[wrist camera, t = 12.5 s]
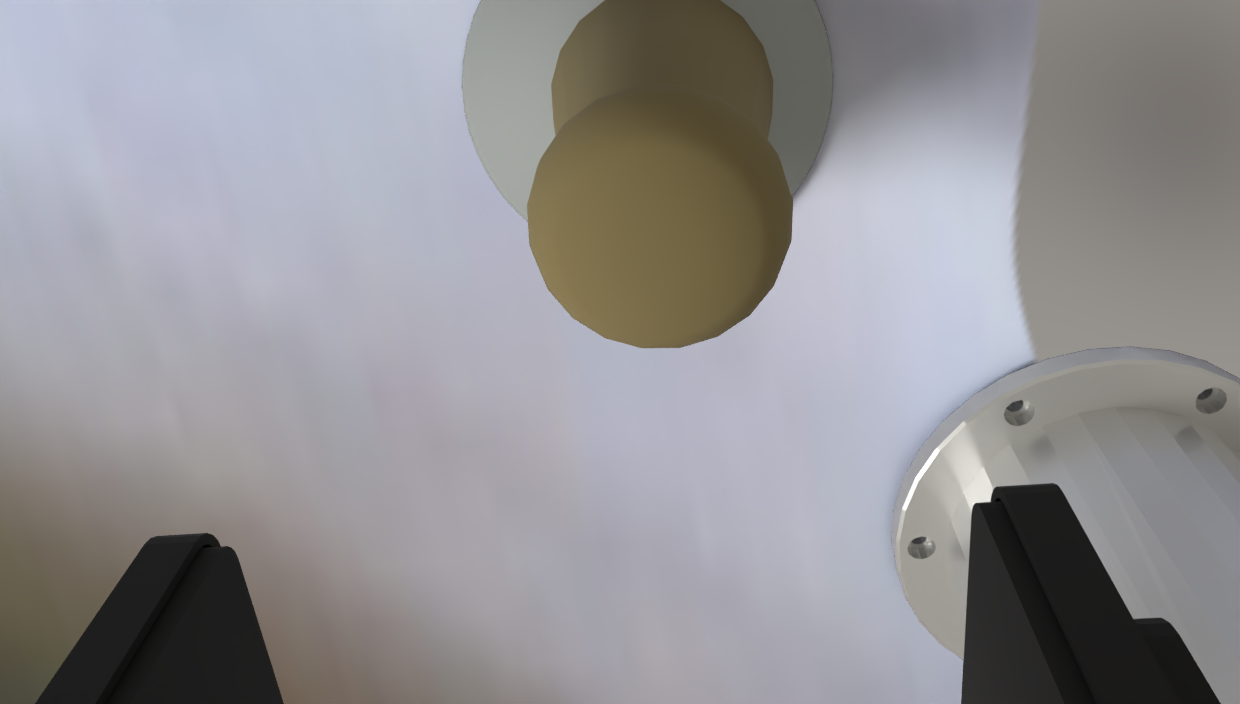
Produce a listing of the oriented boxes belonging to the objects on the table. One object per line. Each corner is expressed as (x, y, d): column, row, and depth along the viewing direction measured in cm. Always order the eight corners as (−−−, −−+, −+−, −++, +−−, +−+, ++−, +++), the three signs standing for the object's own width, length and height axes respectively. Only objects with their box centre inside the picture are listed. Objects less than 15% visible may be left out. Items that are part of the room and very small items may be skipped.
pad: (828, -125, 28) (830, -125, 28) (833, 248, 32) (834, 252, 32) (434, -85, 29) (432, -84, 28) (492, 274, 33) (491, 278, 33)
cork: (562, -32, 29) (507, 65, 19) (794, 0, 29) (858, 113, 19) (540, 190, 32) (483, 375, 22) (752, 218, 32) (789, 414, 22)
